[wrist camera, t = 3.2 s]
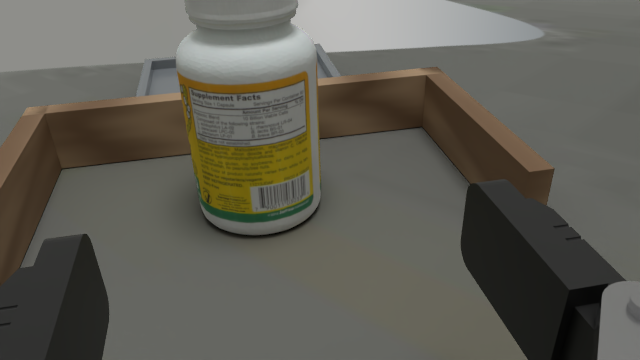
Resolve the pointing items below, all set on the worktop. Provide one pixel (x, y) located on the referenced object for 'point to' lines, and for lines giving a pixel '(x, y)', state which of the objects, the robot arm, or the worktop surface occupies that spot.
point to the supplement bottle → (251, 114)
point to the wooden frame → (172, 139)
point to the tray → (164, 80)
